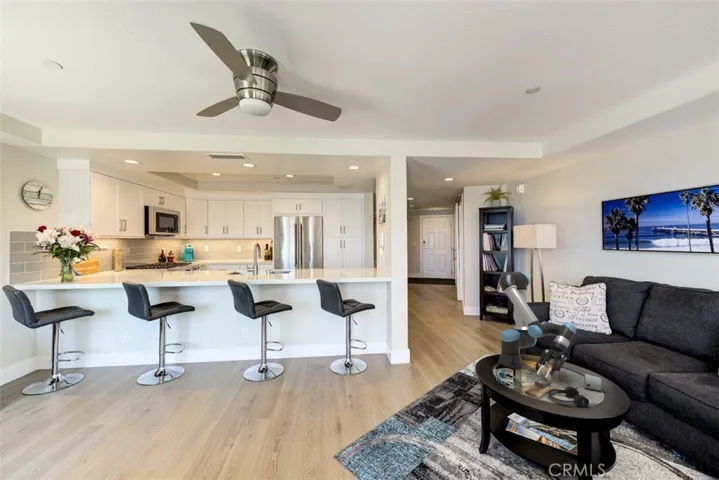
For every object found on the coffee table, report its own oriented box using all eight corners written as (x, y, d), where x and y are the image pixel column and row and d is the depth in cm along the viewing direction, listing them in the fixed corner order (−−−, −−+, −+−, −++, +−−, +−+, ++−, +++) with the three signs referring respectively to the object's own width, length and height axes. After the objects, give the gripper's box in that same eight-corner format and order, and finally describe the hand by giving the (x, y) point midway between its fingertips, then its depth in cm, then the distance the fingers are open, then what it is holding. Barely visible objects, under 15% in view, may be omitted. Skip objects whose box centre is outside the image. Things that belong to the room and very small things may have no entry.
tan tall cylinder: (540, 382, 179) (540, 361, 179) (544, 380, 181) (544, 359, 181) (548, 385, 175) (548, 364, 175) (552, 383, 178) (552, 362, 178)
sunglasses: (497, 376, 191) (499, 368, 190) (524, 385, 182) (525, 377, 182) (494, 384, 179) (495, 376, 178) (522, 394, 171) (523, 386, 170)
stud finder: (534, 385, 174) (534, 381, 174) (539, 382, 177) (539, 378, 177) (543, 388, 170) (543, 384, 170) (548, 386, 173) (548, 381, 173)
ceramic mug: (603, 393, 168) (602, 379, 168) (585, 389, 172) (584, 376, 172) (600, 386, 177) (600, 373, 177) (583, 383, 181) (582, 370, 181)
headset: (596, 389, 151) (553, 390, 155) (599, 408, 151) (556, 409, 154) (581, 377, 165) (542, 379, 168) (583, 395, 164) (544, 396, 168)
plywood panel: (520, 391, 169) (520, 389, 169) (535, 383, 180) (535, 381, 180) (539, 399, 161) (539, 396, 161) (553, 390, 171) (553, 387, 171)
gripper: (577, 353, 177) (560, 386, 170) (548, 344, 193) (531, 374, 186) (572, 345, 175) (554, 379, 168) (543, 337, 191) (525, 367, 184)
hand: (542, 376), depth 177 cm, fingers closed on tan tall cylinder, 4 cm apart
